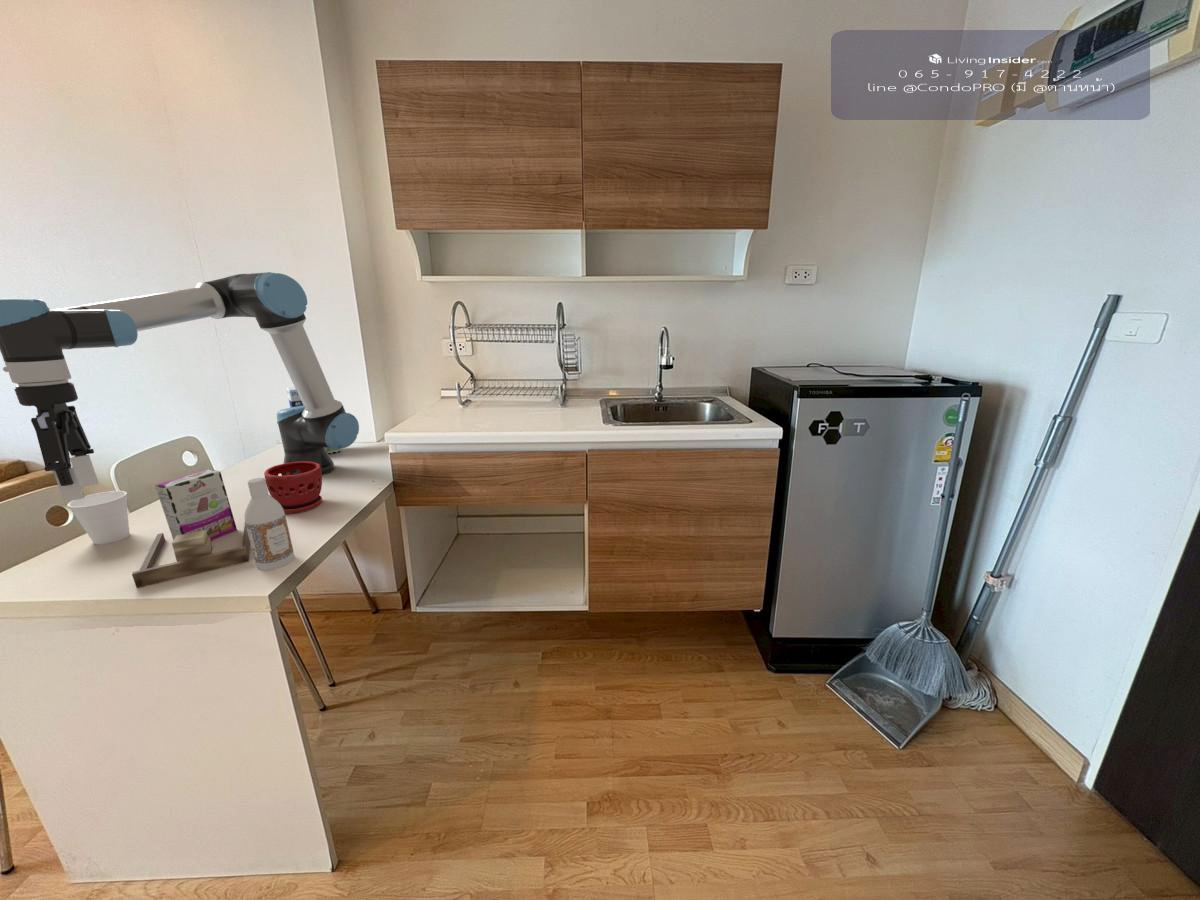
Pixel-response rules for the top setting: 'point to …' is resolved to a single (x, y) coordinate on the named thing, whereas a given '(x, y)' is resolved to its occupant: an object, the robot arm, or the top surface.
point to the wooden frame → (187, 563)
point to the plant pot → (295, 486)
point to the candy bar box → (197, 504)
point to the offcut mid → (194, 552)
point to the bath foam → (267, 529)
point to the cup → (103, 516)
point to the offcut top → (190, 540)
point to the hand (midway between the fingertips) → (82, 491)
